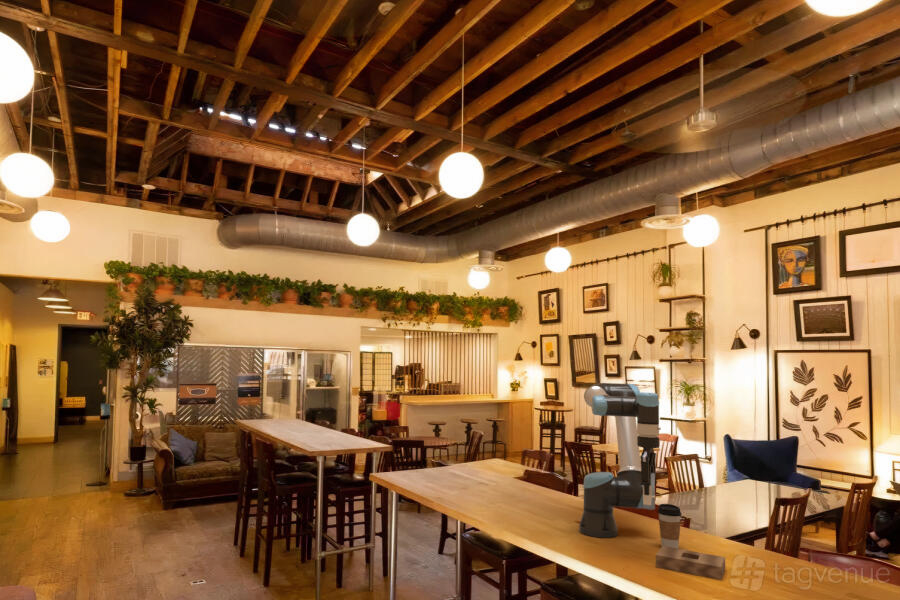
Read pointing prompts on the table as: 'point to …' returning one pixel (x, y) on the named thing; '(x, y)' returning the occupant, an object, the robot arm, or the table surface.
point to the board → (691, 562)
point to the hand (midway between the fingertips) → (649, 503)
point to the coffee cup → (669, 525)
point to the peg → (652, 493)
